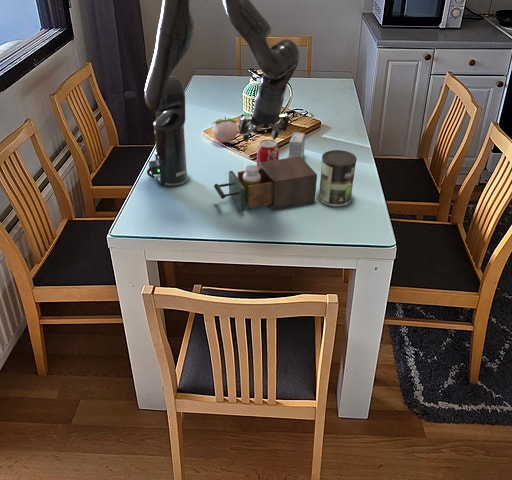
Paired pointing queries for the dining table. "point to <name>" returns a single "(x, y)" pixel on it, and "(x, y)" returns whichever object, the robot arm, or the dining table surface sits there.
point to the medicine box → (297, 145)
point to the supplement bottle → (251, 177)
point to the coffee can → (337, 177)
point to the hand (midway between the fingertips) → (259, 138)
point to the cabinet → (290, 182)
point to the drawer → (256, 193)
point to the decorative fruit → (225, 129)
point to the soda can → (267, 151)
